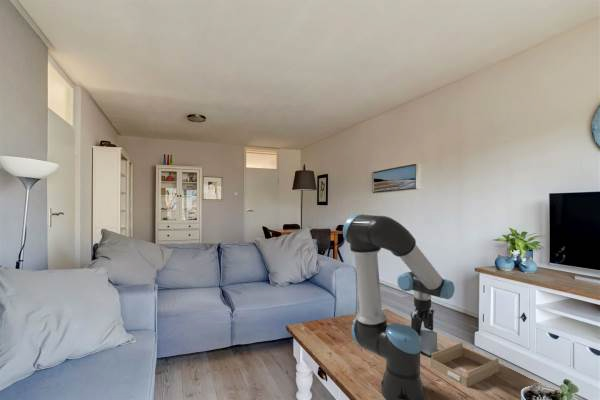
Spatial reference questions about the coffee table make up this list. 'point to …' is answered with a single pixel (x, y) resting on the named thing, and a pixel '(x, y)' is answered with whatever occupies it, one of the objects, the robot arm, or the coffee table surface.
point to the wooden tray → (473, 375)
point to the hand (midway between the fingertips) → (422, 347)
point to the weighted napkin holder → (428, 340)
